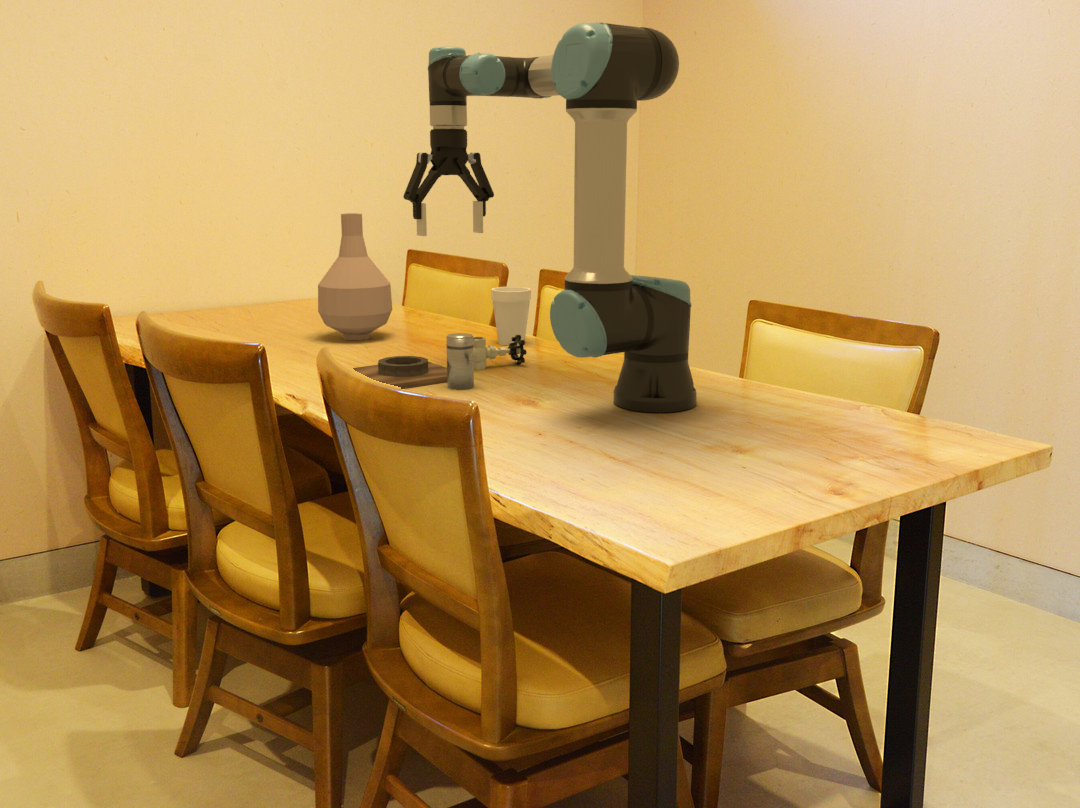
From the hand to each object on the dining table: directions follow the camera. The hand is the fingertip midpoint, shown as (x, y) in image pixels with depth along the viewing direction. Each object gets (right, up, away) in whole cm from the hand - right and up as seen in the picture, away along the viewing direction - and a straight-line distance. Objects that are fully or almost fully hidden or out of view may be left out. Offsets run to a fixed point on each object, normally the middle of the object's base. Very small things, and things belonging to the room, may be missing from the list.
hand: (450, 234), depth 211 cm
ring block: (-9, -30, -3) cm, 31 cm away
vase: (-27, -19, +39) cm, 51 cm away
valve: (+9, -27, +7) cm, 30 cm away
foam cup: (+12, -21, +33) cm, 41 cm away
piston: (+3, -32, -12) cm, 34 cm away
